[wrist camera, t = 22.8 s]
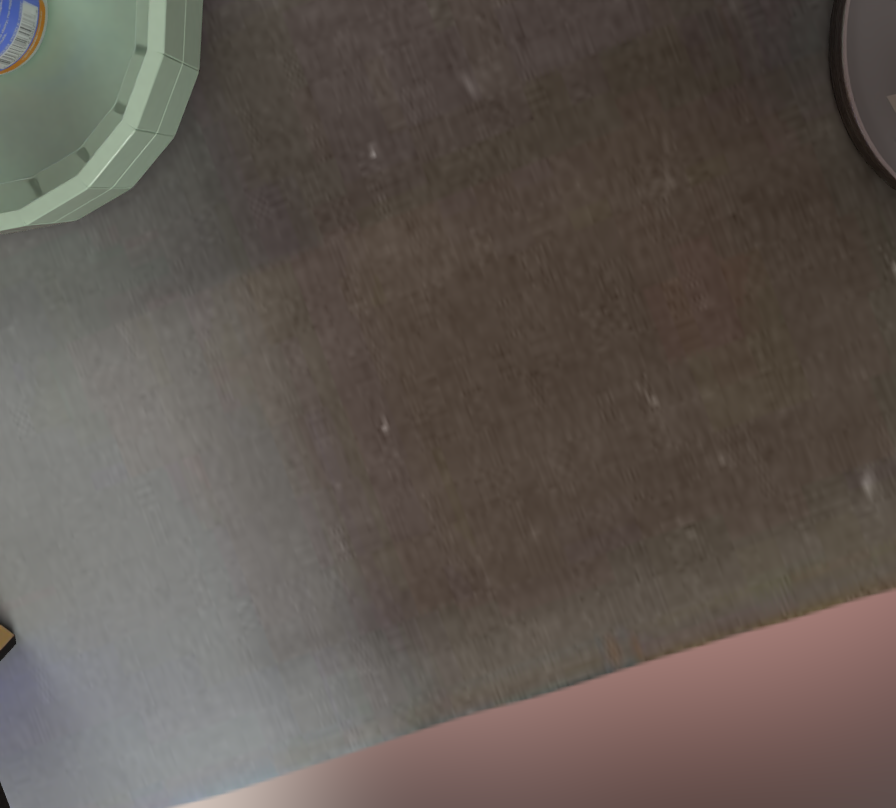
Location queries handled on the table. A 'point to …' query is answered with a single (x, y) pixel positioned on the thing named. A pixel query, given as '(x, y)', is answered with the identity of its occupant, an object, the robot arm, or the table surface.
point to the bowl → (93, 106)
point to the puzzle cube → (6, 641)
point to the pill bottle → (20, 31)
